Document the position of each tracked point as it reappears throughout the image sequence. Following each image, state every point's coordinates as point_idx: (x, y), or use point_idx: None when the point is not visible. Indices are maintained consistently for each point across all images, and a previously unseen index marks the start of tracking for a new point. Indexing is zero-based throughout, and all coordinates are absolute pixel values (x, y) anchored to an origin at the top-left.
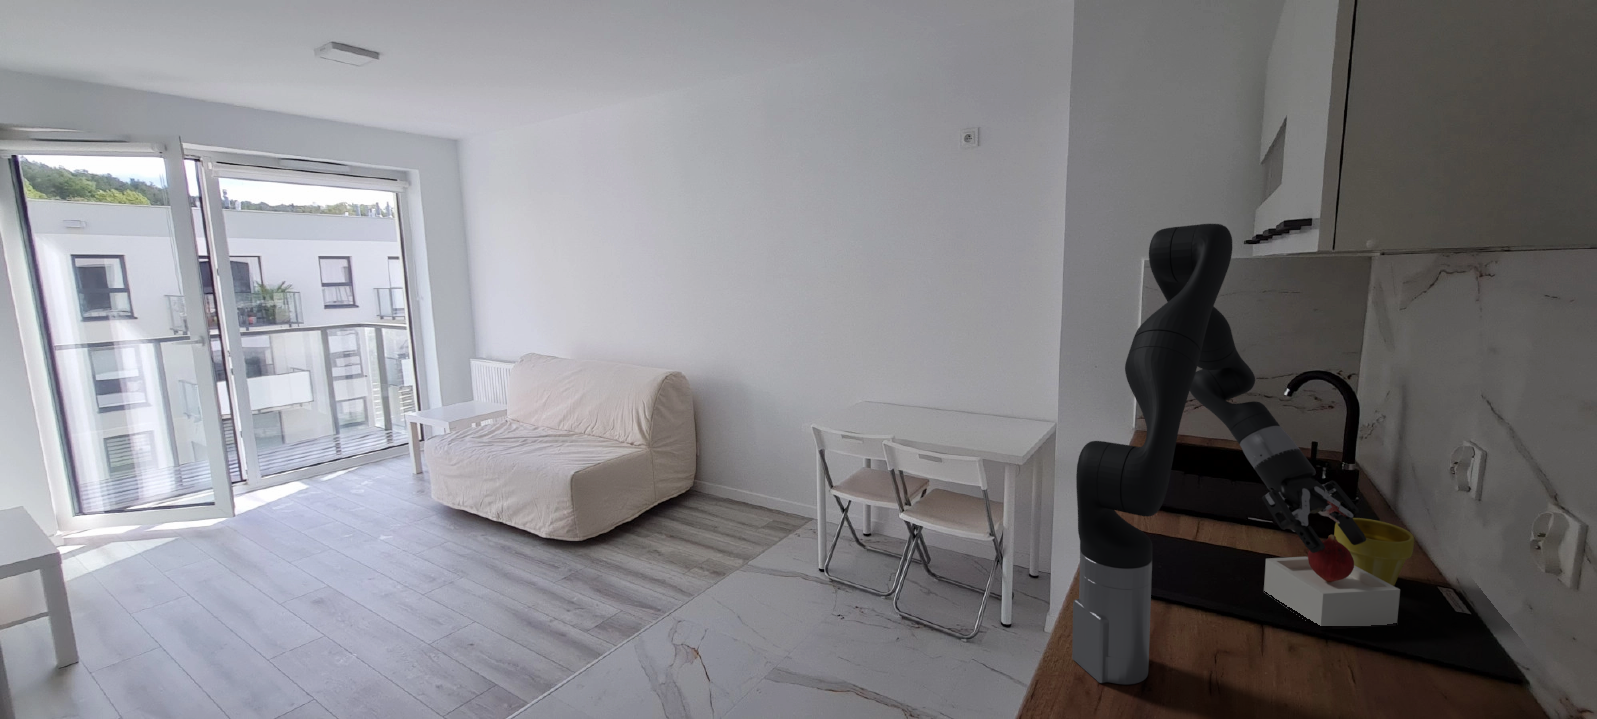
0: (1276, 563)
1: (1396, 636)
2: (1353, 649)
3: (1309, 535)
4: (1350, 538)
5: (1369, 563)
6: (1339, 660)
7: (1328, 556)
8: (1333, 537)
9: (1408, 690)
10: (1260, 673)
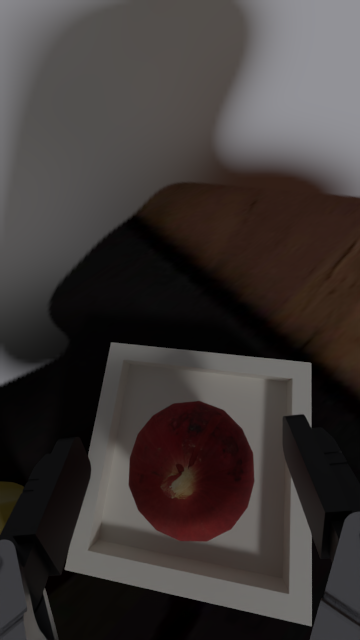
0: (302, 573)
1: (169, 333)
2: (279, 313)
3: (339, 473)
4: (82, 487)
5: (5, 511)
6: (331, 291)
7: (236, 434)
8: (183, 474)
9: (290, 219)
10: None
